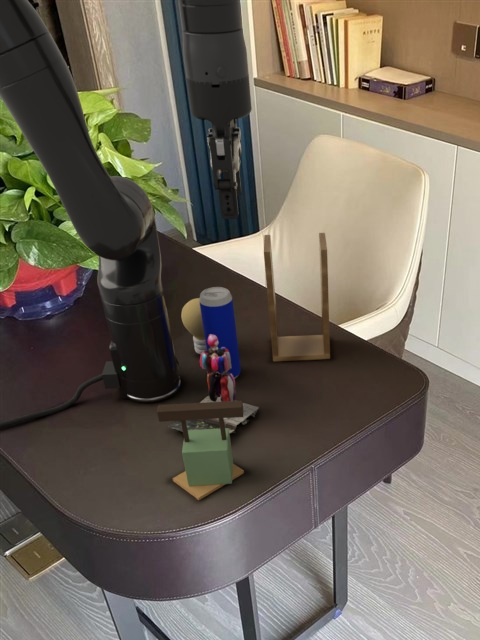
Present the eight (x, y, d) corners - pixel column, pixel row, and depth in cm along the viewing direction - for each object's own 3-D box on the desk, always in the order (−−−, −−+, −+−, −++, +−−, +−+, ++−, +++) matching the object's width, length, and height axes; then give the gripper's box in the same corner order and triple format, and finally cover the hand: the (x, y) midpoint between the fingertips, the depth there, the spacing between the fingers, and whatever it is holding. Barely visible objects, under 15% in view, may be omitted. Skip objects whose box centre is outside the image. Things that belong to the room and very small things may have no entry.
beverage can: (244, 367, 125) (234, 286, 115) (237, 383, 121) (227, 301, 111) (214, 365, 125) (203, 285, 116) (207, 382, 121) (194, 300, 112)
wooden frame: (273, 361, 126) (263, 251, 114) (273, 341, 132) (264, 234, 119) (330, 359, 127) (327, 249, 114) (328, 339, 132) (324, 232, 119)
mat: (199, 500, 98) (198, 497, 98) (172, 481, 102) (172, 478, 101) (244, 473, 103) (243, 470, 103) (217, 455, 106) (217, 452, 106)
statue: (212, 404, 118) (205, 317, 110) (259, 419, 115) (256, 330, 107) (167, 432, 110) (157, 341, 102) (217, 449, 107) (210, 356, 98)
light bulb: (231, 348, 130) (224, 297, 123) (207, 364, 126) (199, 312, 119) (204, 339, 132) (196, 288, 126) (180, 354, 128) (171, 303, 122)
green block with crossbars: (170, 487, 100) (155, 419, 92) (173, 464, 104) (159, 397, 96) (250, 482, 100) (241, 414, 93) (250, 460, 104) (242, 393, 97)
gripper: (191, 61, 92) (208, 189, 103) (179, 86, 82) (199, 227, 92) (250, 59, 93) (261, 188, 103) (246, 84, 82) (258, 225, 92)
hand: (232, 206), depth 97 cm, fingers open, 8 cm apart
